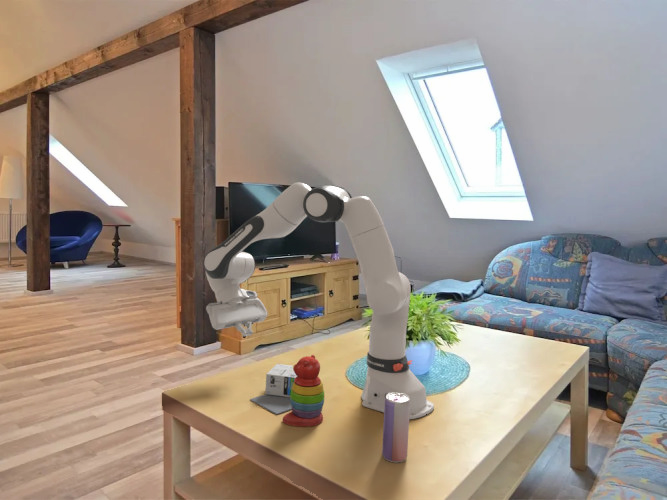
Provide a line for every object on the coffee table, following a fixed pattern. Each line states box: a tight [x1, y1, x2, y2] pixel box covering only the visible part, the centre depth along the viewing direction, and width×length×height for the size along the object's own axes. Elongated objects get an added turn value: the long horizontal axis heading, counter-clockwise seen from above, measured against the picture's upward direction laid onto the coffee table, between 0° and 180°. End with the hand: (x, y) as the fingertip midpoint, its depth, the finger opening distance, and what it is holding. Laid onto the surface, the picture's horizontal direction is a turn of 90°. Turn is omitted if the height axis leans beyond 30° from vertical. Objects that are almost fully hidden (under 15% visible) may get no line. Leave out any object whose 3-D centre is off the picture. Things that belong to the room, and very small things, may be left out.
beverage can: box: [381, 393, 410, 464], centre depth 119 cm, size 6×6×15 cm
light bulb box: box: [264, 363, 297, 398], centre depth 156 cm, size 11×7×11 cm
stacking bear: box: [282, 354, 325, 428], centre depth 137 cm, size 11×10×18 cm
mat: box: [250, 393, 292, 416], centre depth 149 cm, size 13×15×1 cm
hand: (248, 334), depth 162 cm, fingers closed
